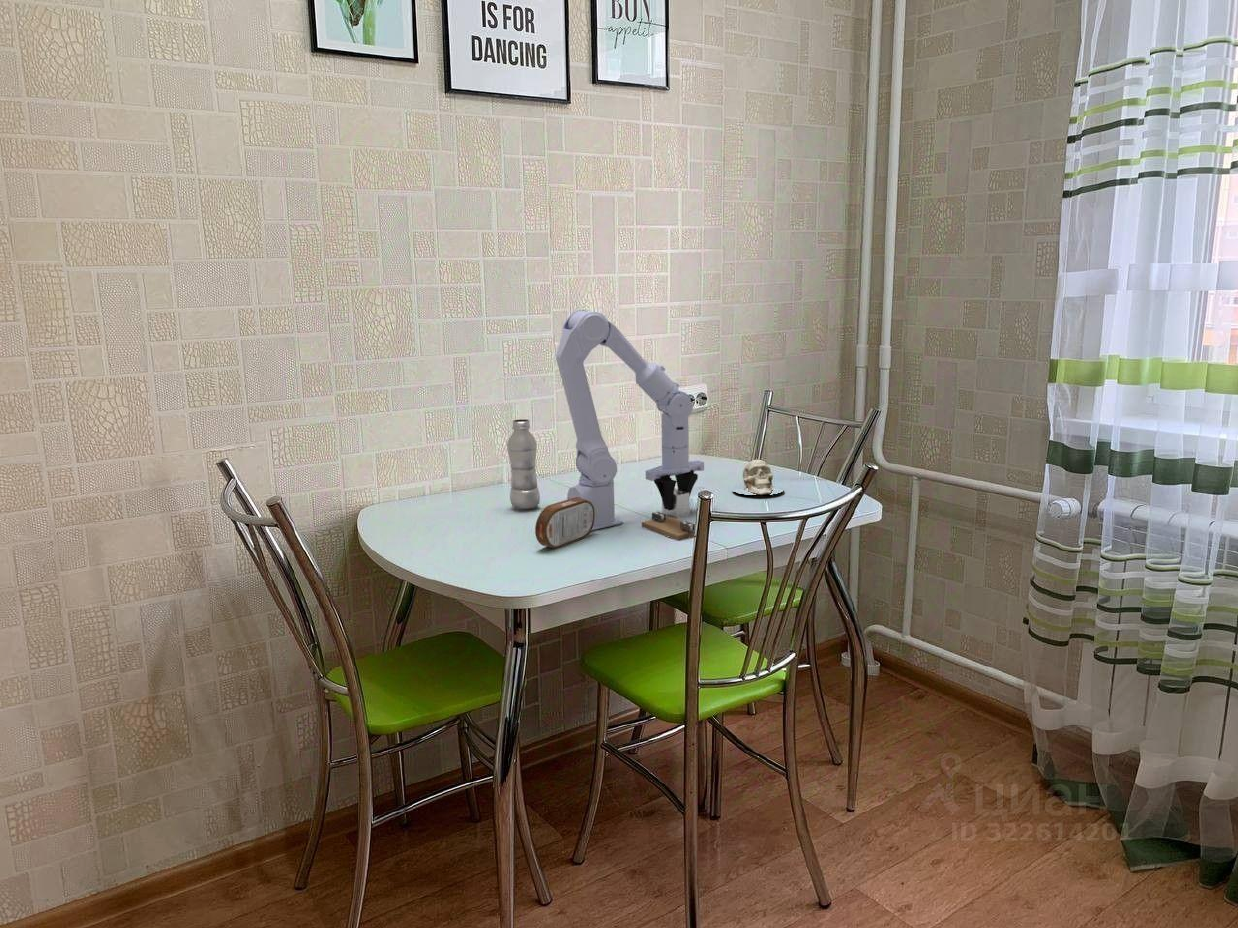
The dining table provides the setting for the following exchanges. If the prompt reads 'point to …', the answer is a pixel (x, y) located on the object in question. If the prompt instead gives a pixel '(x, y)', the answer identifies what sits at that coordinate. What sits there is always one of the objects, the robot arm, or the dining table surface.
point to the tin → (564, 522)
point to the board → (668, 528)
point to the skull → (758, 477)
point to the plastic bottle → (523, 466)
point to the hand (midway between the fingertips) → (675, 507)
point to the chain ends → (683, 525)
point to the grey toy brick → (678, 504)
